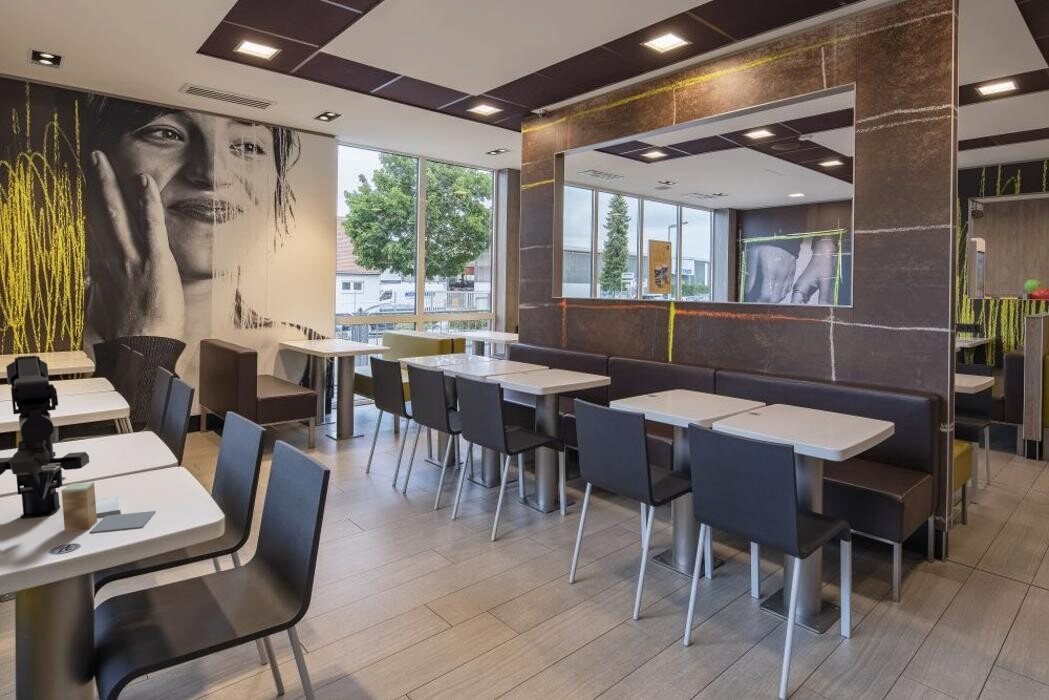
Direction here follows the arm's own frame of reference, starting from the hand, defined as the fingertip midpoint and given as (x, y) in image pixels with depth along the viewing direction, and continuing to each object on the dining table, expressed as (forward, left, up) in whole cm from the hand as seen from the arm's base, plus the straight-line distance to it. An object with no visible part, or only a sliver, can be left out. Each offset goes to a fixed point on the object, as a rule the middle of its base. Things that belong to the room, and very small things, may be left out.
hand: (41, 499), depth 147 cm
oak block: (+8, 0, -8) cm, 11 cm away
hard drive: (+8, +12, -8) cm, 17 cm away
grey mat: (+17, 0, -8) cm, 18 cm away
